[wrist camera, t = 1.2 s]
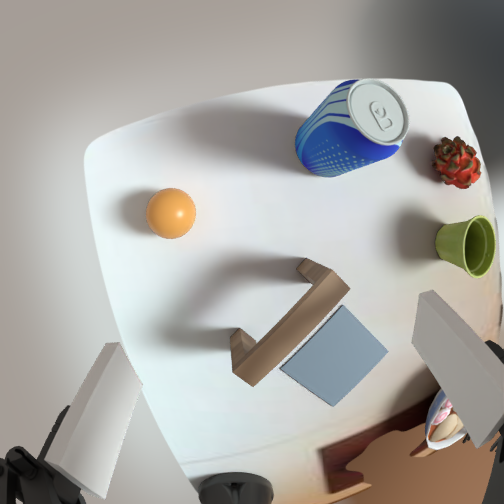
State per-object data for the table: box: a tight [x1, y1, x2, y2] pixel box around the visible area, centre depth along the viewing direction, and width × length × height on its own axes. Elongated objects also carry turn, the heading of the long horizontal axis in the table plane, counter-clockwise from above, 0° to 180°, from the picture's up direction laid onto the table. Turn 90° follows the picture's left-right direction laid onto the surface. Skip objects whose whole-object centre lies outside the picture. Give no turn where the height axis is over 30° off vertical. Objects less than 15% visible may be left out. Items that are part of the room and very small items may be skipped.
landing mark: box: [281, 305, 388, 407], centre depth 40 cm, size 13×13×1 cm
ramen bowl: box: [425, 349, 504, 450], centre depth 41 cm, size 25×23×8 cm
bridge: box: [230, 258, 350, 387], centre depth 33 cm, size 3×15×10 cm, turn 137°
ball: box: [146, 188, 196, 239], centre depth 32 cm, size 6×6×6 cm
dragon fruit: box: [432, 136, 481, 189], centre depth 35 cm, size 8×8×12 cm
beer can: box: [295, 78, 409, 177], centre depth 28 cm, size 8×8×16 cm
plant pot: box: [435, 215, 496, 278], centre depth 36 cm, size 9×9×9 cm
